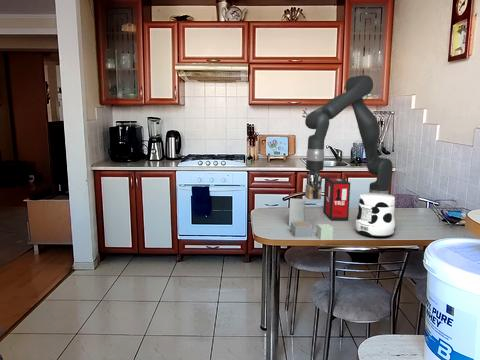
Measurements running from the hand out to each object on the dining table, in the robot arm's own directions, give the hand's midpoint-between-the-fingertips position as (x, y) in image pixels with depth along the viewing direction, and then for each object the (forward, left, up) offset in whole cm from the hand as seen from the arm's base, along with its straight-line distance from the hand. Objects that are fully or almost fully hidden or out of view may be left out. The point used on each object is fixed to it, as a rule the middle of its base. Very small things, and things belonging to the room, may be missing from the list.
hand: (312, 196), depth 176 cm
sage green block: (-5, +3, -18) cm, 19 cm away
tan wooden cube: (0, 0, -1) cm, 1 cm away
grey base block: (+4, -3, -18) cm, 19 cm away
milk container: (-30, 0, -18) cm, 35 cm away
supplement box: (+2, -18, -18) cm, 26 cm away
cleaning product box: (-23, -31, -18) cm, 43 cm away
